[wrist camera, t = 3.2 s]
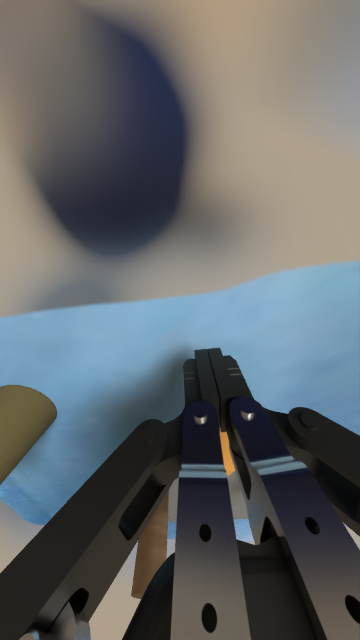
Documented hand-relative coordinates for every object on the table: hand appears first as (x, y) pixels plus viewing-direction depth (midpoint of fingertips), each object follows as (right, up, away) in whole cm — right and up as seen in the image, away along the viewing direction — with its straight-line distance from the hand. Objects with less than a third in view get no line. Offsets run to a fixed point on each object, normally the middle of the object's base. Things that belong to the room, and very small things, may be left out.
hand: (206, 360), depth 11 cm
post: (-4, -15, +11) cm, 19 cm away
